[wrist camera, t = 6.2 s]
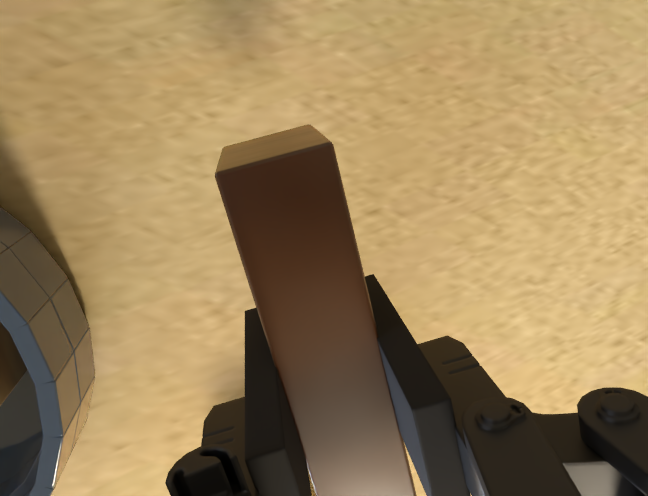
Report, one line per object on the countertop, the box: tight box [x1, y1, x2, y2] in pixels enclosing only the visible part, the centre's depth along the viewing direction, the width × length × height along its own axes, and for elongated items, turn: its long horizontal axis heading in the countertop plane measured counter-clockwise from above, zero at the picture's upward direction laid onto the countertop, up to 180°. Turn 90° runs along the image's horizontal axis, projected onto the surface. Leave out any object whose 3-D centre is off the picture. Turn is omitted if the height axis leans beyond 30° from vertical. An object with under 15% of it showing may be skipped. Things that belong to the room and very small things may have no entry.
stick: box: [215, 125, 417, 496], centre depth 15 cm, size 12×2×4 cm, turn 14°
